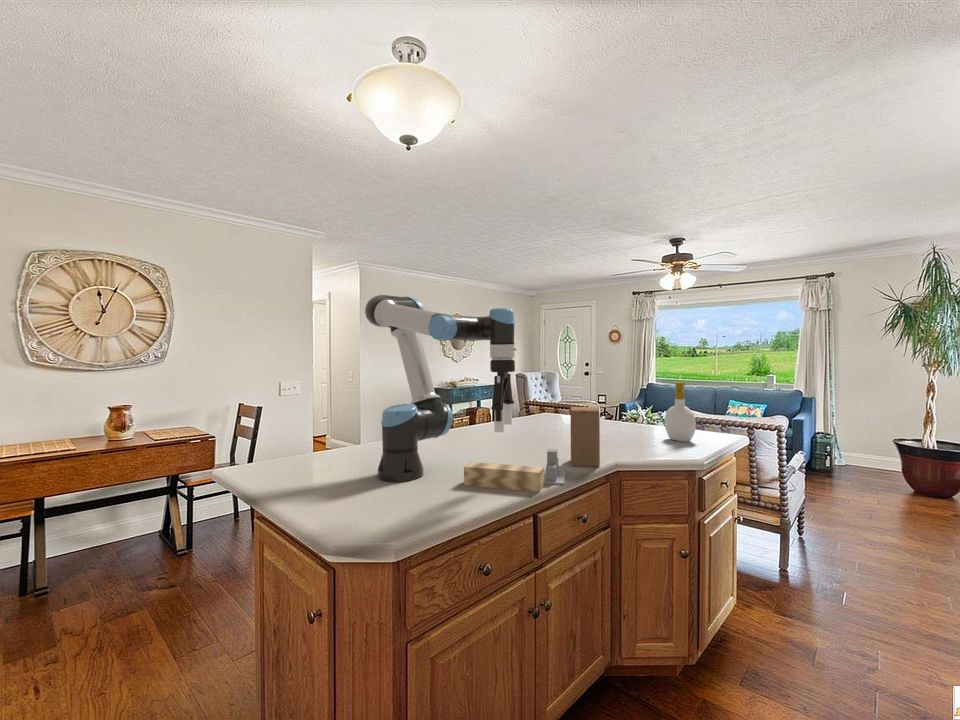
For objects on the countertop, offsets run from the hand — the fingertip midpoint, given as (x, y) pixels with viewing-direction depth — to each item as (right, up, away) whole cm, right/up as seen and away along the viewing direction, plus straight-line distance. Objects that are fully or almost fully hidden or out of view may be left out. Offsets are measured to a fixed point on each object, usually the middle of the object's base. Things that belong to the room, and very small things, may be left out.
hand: (503, 428), depth 141 cm
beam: (0, -18, +1) cm, 18 cm away
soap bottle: (+82, -15, +64) cm, 105 cm away
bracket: (+16, -17, +8) cm, 25 cm away
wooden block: (+31, -17, +26) cm, 44 cm away
